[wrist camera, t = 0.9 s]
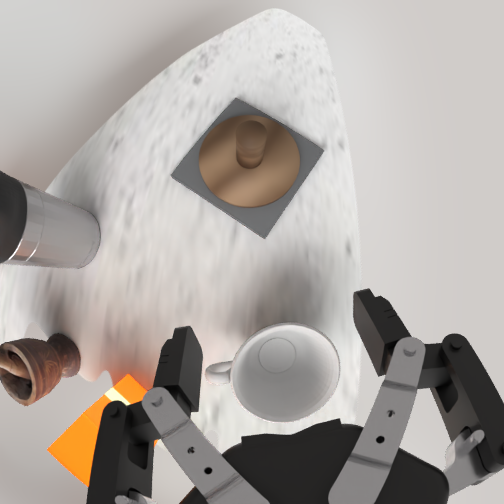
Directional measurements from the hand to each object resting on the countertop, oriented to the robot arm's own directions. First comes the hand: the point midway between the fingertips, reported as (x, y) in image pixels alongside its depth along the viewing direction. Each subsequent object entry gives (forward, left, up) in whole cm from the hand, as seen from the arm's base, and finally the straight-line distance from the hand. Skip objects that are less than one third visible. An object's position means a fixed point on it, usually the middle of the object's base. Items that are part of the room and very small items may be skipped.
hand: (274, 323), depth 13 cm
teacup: (+6, -6, -25) cm, 27 cm away
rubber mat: (-11, +15, -25) cm, 31 cm away
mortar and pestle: (-21, -27, -25) cm, 42 cm away
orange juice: (-4, -25, -25) cm, 36 cm away
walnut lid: (-11, +15, -24) cm, 30 cm away
